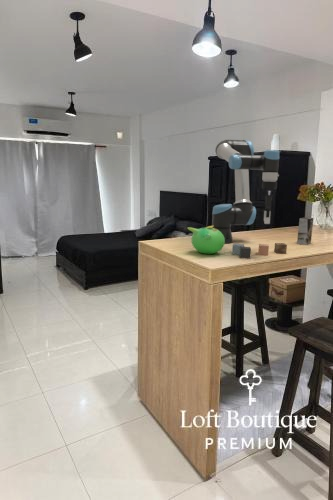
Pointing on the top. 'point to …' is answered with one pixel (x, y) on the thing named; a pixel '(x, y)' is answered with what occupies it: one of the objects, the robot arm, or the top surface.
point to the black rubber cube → (245, 252)
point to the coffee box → (305, 231)
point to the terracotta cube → (263, 249)
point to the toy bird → (207, 239)
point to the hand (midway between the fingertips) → (266, 222)
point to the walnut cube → (280, 248)
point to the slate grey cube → (236, 248)
